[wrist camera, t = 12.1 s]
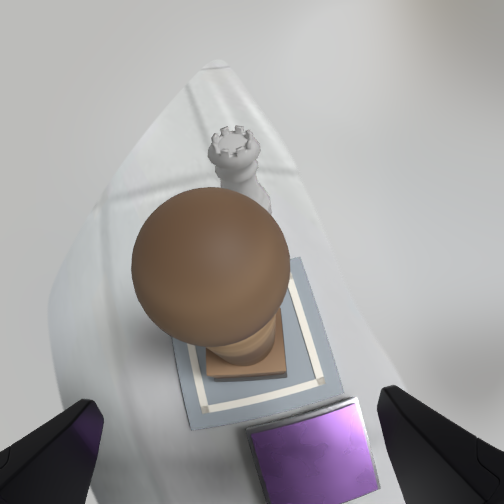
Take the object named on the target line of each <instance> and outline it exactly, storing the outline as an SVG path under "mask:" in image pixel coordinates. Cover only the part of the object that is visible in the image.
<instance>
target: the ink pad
mask: <svg viewBox="0 0 504 504" xmlns="http://www.w3.org/2000/svg"><path fill="white" fill-rule="evenodd" d="M246 434H247V438H248V441H249V445H250V448H251V452H252V455H253V459H254V462H255V466H256V469H257V472H258V476H259V479H260V482H261V486H262V489H263V492H264V495H265V499H266V502H267V504H342V503H345V502H348V501H350V500H353V499H356V498H359V497H361V496H364V495H366V494H369V493H371V492H373V491H376V490H378V489H380V483H379V479H378V475H377V471H376V466H375V462H374V458H373V454H372V450H371V446H370V443H369V439H368V435H367V431H366V428H365V424H364V420H363V417H362V413H361V409H360V406H359V402H358V399H357V397H351V398H348V399H346V400H343V401H340V402H337V403H334V404H331V405H328V406H325V407H322V408H319V409H316V410H313V411H310V412H306V413H303V414H299V415H296V416H292V417H289V418H285V419H281V420H277V421H273V422H269V423H265V424H261V425H257V426H252V427H247V428H246Z"/></svg>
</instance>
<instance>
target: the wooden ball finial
mask: <svg viewBox="0 0 504 504" xmlns="http://www.w3.org/2000/svg"><path fill="white" fill-rule="evenodd" d="M131 271H132V280H133V285H134V289H135V292H136V295H137V298H138V300H139V302H140V304H141V306H142V307H143V309H144V311H145V312H146V314H147V315H148V316H149V318H150V319H151V320H152V321H153V322H154V323H155V324H156V325H157V326H158V327H159V328H160V329H161V330H163V331H164V332H165V333H167V334H168V335H170V336H171V337H174V338H176V339H178V340H180V341H182V342H185V343H188V344H191V345H196V346H202V347H206V373H207V376H210V377H214V382H237V381H254V380H268V379H279V378H287V366H286V355H285V345H284V334H283V324H282V314H281V308H280V306H281V304H282V302H283V300H284V297H285V295H286V292H287V289H288V284H289V280H290V255H289V250H288V246H287V243H286V240H285V238H284V235H283V233H282V231H281V229H280V227H279V225H278V224H277V223H276V221H275V220H274V218H273V217H272V216H271V215H270V213H269V212H268V211H267V210H266V209H265V208H264V207H262V206H261V205H260V204H258V203H257V202H256V201H254V200H253V199H251V198H249V197H248V196H246V195H243V194H241V193H239V192H236V191H232V190H229V189H224V188H216V187H207V188H198V189H192V190H189V191H185V192H183V193H180V194H178V195H176V196H174V197H172V198H170V199H169V200H167V201H166V202H164V203H163V204H162V205H160V206H159V207H158V208H157V209H156V210H155V211H154V212H153V213H152V214H151V215H150V216H149V217H148V219H147V220H146V221H145V223H144V225H143V226H142V228H141V230H140V232H139V234H138V236H137V239H136V242H135V245H134V248H133V253H132V266H131Z"/></svg>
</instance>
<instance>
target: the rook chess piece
mask: <svg viewBox="0 0 504 504" xmlns="http://www.w3.org/2000/svg"><path fill="white" fill-rule="evenodd" d="M245 132H246V133H245ZM245 132H244V129H243V126H235V131H231V132H229V128H228V126H227V127H224V128H222V129H221V135H220V136H219V134H216V133H214V135H213V136H212V138H211V139H212V143H211V146H210V147H209V149H208V158H209V159H210V161H211V163H213V164H214V165H216V166H215V172H216V174H217V176H218V177H219V178H220V180H221V188H224V189H229V190H232V191H236V192H239V193H241V194H243V195H246V196H248V197H249V198H251V199H253V200H254V201H256V202H257V203H258V204H260V205H261V206H262V207H264V208H265V209H266V210H267V211H268V212H269V213H270V215H271V214H272V210H271V203H270V197H269V195H268V193H267V192H266V190H265V189H264V188H263V187H262V186H261V185H260V183H258V180H257V176H256V171H257V169H258V161H257V160H256V159H257V158H258V156H259V153H260V151H261V149H260V144H259V142H258V141H257V140H256V139H255V138H254V137H253V133H252V132H251V131H250V130H247V131H245Z"/></svg>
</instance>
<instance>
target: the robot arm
mask: <svg viewBox="0 0 504 504" xmlns="http://www.w3.org/2000/svg"><path fill="white" fill-rule="evenodd" d="M377 412H378V416H379V420H380V424H381V428H382V432H383V436H384V440H385V445H386V449H387V452H388V455H389V458H390V461H391V463H392V466H393V469H394V472H395V474H396V477H397V480H398V483H399V486H400V488H401V491H402V494H403V497H404V500H405V503H406V504H504V452H503V451H501V450H499V449H497V448H495V447H493V446H492V445H490V444H488V443H486V442H485V441H483V440H481V439H479V438H477V437H476V436H475V435H473V434H471V433H469V432H468V431H466V430H465V429H463V428H462V427H460V426H458V425H457V424H455V423H454V422H452V421H450V420H449V419H447V418H445V417H444V416H442V415H441V414H439V413H438V412H436V411H434V410H433V409H431V408H430V407H428V406H427V405H425V404H424V403H422V402H420V401H419V400H417V399H416V398H414V397H413V396H411V395H410V394H408V393H407V392H405V391H404V390H402V389H400V388H399V387H397V386H395V385H391V386H387V387H384V388H382V390H381V393H380V397H379V401H378V405H377ZM103 424H104V418H103V415H102V414H101V412H100V410H99V408H98V407H97V405H96V403H95V402H94V401H93V400H90V399H81V400H80V401H78V402H77V403H75V404H74V405H72V406H71V407H69V408H68V409H66V410H65V411H63V412H62V413H60V414H59V415H57V416H56V417H54V418H53V419H51V420H50V421H48V422H47V423H45V424H43V425H42V426H40V427H39V428H37V429H36V430H34V431H33V432H31V433H30V434H28V435H27V436H25V437H23V438H22V439H21V440H19V441H17V442H15V443H14V444H12V445H11V446H9V447H8V448H6V449H4V450H3V451H1V452H0V504H85V501H86V497H87V493H88V490H89V486H90V482H91V478H92V475H93V471H94V468H95V464H96V460H97V456H98V451H99V445H100V440H101V434H102V429H103Z"/></svg>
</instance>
